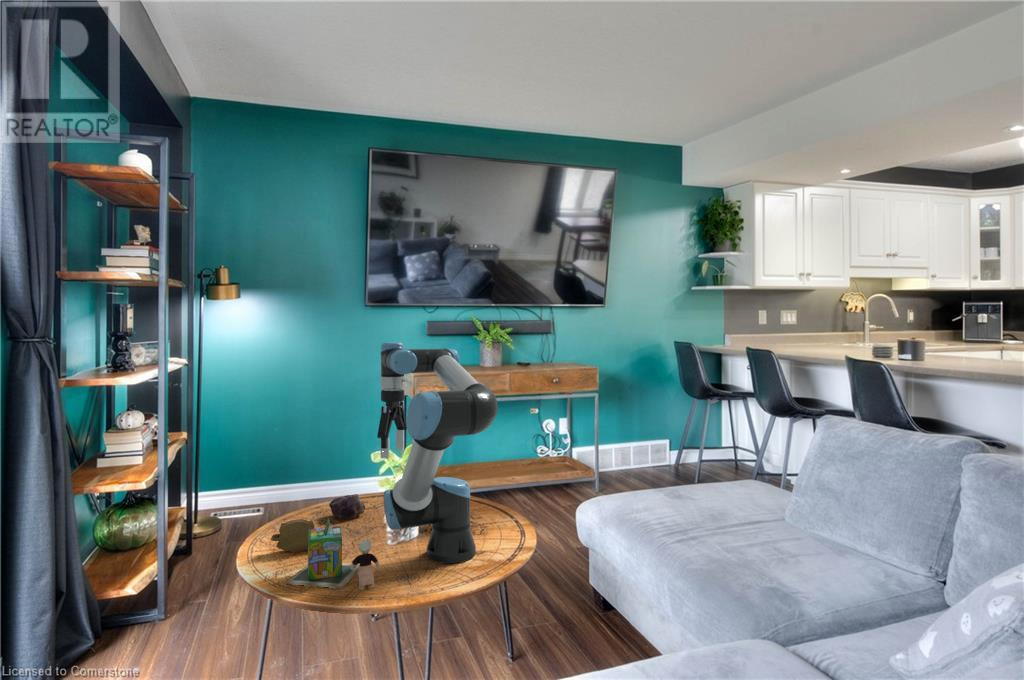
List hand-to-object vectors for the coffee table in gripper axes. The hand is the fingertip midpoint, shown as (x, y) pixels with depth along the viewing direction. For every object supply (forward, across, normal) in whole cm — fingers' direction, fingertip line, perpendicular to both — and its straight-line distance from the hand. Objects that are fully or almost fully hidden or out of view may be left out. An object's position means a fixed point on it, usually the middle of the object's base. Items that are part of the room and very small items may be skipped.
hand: (392, 453), depth 189 cm
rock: (+29, +19, +25) cm, 43 cm away
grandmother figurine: (+29, -34, -5) cm, 45 cm away
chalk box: (+28, -29, +9) cm, 41 cm away
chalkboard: (+29, -29, +9) cm, 42 cm away
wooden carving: (+29, -13, +26) cm, 41 cm away
